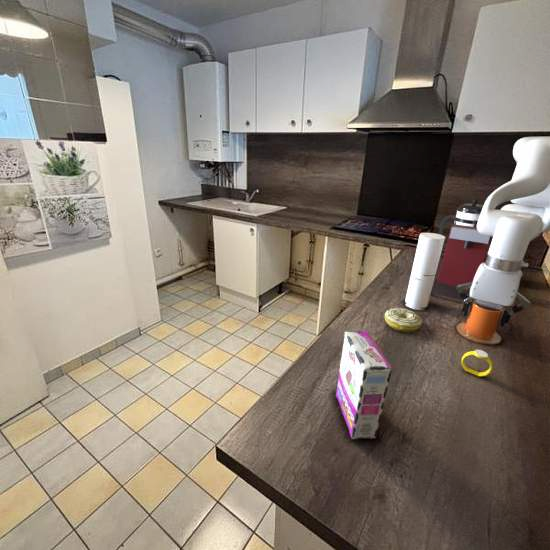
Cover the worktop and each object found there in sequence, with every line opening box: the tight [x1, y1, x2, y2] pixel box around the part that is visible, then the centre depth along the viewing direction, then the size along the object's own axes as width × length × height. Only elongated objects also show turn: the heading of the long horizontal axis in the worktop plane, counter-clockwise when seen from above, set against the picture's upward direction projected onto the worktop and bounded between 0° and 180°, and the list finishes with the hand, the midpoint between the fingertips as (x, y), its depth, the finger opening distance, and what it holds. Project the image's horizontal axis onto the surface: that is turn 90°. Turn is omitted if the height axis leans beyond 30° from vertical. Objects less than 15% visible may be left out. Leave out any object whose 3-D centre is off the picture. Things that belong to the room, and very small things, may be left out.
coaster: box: [456, 321, 502, 346], centre depth 86 cm, size 11×11×1 cm
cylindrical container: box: [404, 232, 446, 311], centre depth 97 cm, size 7×7×25 cm
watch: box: [461, 349, 493, 377], centre depth 69 cm, size 6×3×6 cm, turn 53°
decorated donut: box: [384, 307, 423, 333], centre depth 89 cm, size 10×11×4 cm
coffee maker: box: [431, 223, 493, 304], centre depth 108 cm, size 18×13×24 cm
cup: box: [464, 299, 504, 339], centre depth 84 cm, size 7×7×9 cm
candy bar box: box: [335, 330, 393, 440], centre depth 55 cm, size 11×5×16 cm, turn 5°
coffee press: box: [437, 198, 484, 258], centre depth 143 cm, size 17×16×30 cm
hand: (482, 319), depth 84 cm, fingers open, 8 cm apart
